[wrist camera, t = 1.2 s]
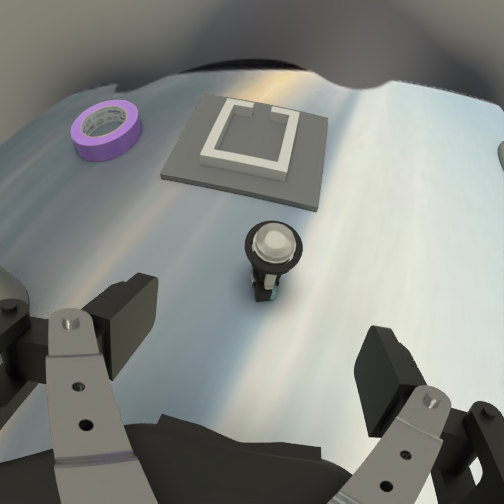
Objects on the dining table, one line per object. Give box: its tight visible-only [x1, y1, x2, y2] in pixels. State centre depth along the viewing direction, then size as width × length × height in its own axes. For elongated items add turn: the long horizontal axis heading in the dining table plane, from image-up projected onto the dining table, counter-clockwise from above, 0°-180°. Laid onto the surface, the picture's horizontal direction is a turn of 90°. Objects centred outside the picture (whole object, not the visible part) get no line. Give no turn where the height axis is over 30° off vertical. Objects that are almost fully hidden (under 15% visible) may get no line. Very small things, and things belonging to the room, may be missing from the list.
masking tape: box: [71, 100, 141, 161], centre depth 46 cm, size 12×12×4 cm
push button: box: [245, 221, 303, 301], centre depth 34 cm, size 7×5×10 cm
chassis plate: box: [160, 94, 328, 212], centre depth 47 cm, size 22×20×3 cm
